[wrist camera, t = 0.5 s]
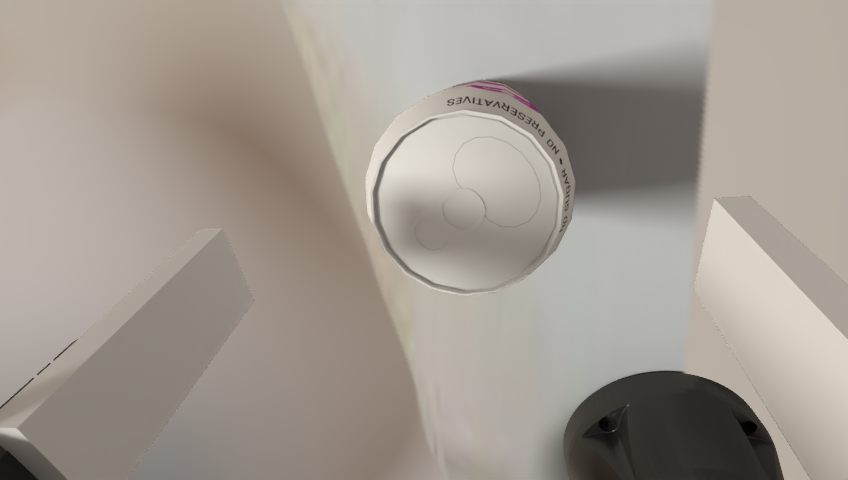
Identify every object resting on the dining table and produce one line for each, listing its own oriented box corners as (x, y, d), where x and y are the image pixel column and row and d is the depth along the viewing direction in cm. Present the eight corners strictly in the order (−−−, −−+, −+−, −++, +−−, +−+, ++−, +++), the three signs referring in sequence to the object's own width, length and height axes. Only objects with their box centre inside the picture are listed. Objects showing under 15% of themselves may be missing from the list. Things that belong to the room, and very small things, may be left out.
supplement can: (489, 51, 27) (479, 33, 14) (567, 152, 29) (630, 229, 15) (396, 136, 30) (311, 192, 16) (471, 224, 32) (450, 344, 18)
